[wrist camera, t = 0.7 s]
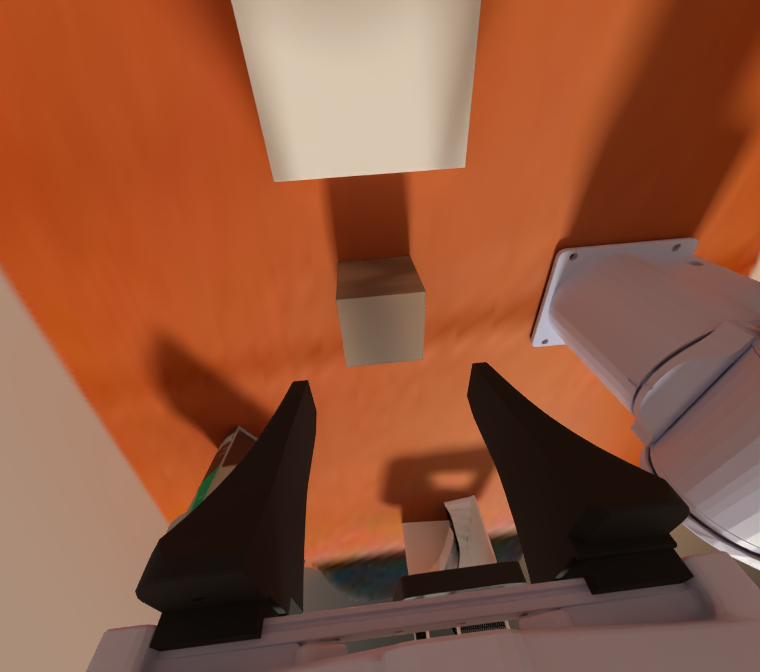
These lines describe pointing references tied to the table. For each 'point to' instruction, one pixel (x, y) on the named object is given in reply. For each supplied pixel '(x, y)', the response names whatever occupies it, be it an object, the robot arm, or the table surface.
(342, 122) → the base block
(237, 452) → the food container
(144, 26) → the table surface
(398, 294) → the grayish beige block
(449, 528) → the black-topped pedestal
